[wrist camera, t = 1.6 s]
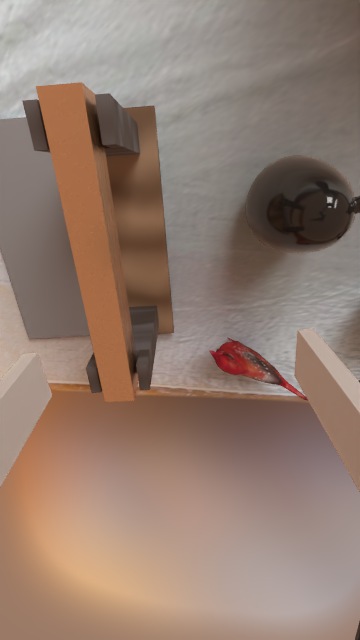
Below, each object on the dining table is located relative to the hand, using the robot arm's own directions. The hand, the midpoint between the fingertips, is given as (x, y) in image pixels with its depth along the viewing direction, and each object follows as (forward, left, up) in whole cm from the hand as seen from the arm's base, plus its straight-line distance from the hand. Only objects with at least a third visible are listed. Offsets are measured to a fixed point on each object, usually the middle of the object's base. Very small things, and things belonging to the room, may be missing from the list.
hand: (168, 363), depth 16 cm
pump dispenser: (-4, +14, -29) cm, 32 cm away
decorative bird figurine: (+17, +11, -29) cm, 36 cm away
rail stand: (-1, -6, -29) cm, 30 cm away
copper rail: (-1, -6, -15) cm, 17 cm away
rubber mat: (-1, -18, -29) cm, 34 cm away
